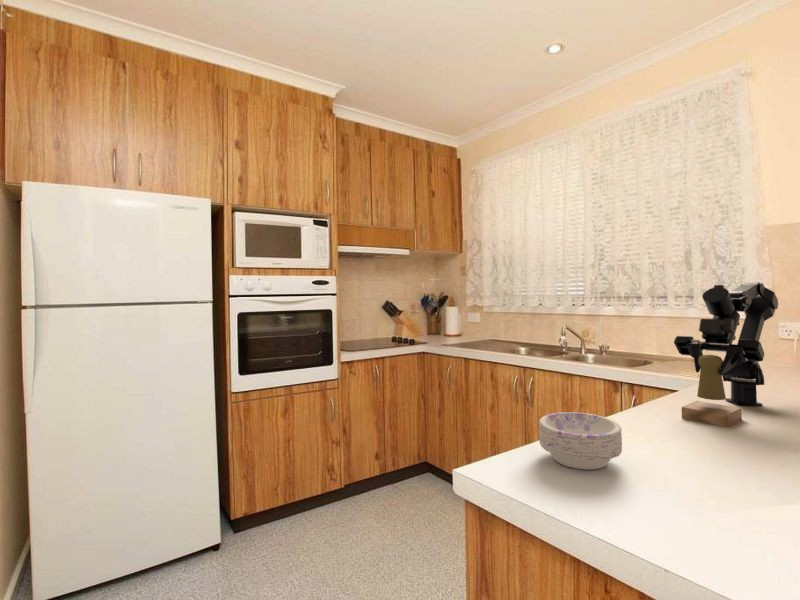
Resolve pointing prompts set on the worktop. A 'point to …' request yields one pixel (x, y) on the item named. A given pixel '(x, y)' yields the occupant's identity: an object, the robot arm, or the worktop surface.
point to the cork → (710, 378)
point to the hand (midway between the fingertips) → (708, 372)
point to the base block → (712, 413)
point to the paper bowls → (580, 439)
